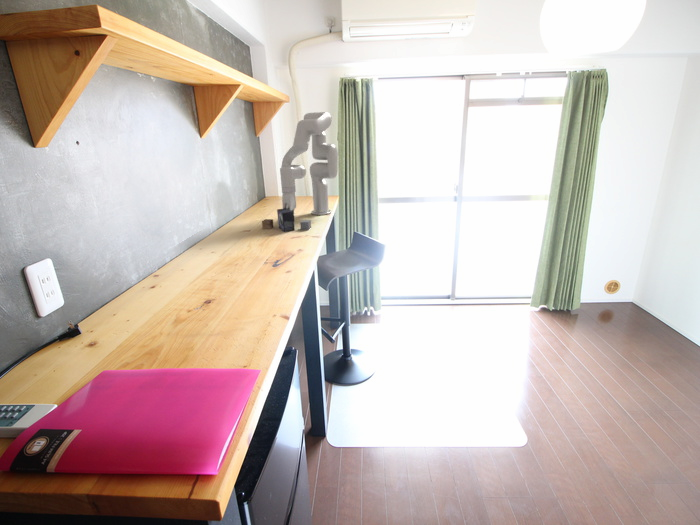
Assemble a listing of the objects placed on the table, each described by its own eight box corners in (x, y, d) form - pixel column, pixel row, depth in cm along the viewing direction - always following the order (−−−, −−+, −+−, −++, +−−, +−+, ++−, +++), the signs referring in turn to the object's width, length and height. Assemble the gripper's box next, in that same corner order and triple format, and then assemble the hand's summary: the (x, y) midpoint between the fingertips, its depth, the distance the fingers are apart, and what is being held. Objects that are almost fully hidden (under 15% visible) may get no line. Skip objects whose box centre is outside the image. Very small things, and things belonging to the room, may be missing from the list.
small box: (278, 227, 205) (276, 209, 201) (289, 226, 208) (287, 207, 204) (283, 232, 196) (281, 212, 192) (295, 230, 199) (293, 211, 195)
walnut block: (266, 227, 208) (265, 219, 206) (273, 227, 207) (272, 219, 205) (262, 229, 203) (261, 221, 202) (270, 229, 203) (269, 221, 201)
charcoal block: (303, 227, 203) (302, 220, 202) (311, 228, 203) (310, 220, 201) (300, 230, 199) (300, 222, 198) (308, 230, 198) (308, 222, 197)
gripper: (287, 187, 211) (289, 218, 217) (277, 191, 197) (280, 225, 203) (299, 187, 209) (301, 219, 216) (290, 192, 196) (293, 225, 202)
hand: (291, 222), depth 210 cm, fingers closed
